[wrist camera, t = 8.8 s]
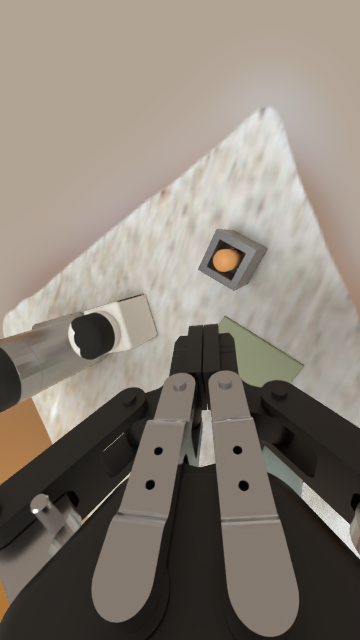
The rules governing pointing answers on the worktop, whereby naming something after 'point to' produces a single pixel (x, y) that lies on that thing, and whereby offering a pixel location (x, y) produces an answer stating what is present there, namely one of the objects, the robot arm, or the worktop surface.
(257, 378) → the rubber mat
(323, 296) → the worktop surface
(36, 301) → the worktop surface
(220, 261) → the plunger
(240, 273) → the gray square socket block
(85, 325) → the medicine bottle
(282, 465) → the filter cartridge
